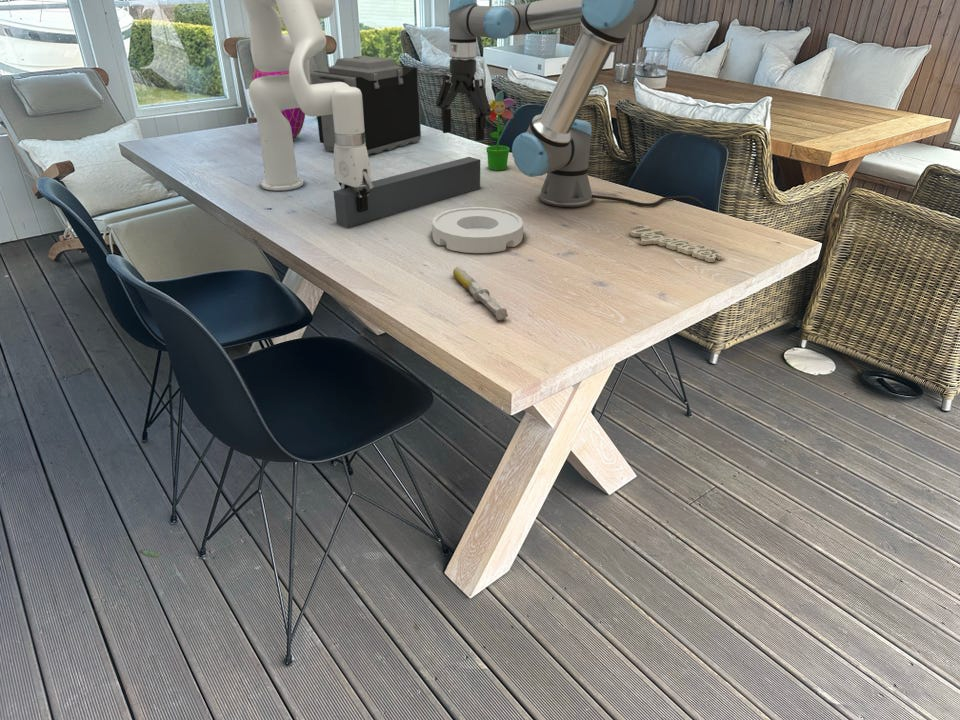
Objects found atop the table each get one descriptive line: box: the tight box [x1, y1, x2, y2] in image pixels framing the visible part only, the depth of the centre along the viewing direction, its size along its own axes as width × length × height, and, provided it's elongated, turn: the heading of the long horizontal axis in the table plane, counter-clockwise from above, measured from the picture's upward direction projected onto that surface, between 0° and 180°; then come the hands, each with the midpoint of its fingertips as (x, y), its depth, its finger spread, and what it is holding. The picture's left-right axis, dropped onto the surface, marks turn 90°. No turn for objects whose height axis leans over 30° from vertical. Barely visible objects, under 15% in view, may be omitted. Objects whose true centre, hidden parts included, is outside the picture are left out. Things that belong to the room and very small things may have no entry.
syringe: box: [452, 266, 509, 321], centre depth 145 cm, size 25×4×3 cm, turn 21°
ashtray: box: [431, 206, 524, 254], centre depth 175 cm, size 23×23×4 cm
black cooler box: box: [310, 55, 422, 156], centre depth 250 cm, size 37×22×30 cm, turn 144°
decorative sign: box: [630, 224, 722, 263], centre depth 172 cm, size 26×1×10 cm
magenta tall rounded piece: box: [251, 66, 306, 139], centre depth 257 cm, size 19×19×30 cm
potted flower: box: [486, 90, 517, 171], centre depth 227 cm, size 9×8×25 cm
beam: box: [333, 156, 481, 229], centre depth 196 cm, size 51×5×9 cm, turn 137°
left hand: (356, 208), depth 184 cm, fingers closed on beam, 5 cm apart
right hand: (463, 136), depth 203 cm, fingers open, 13 cm apart
